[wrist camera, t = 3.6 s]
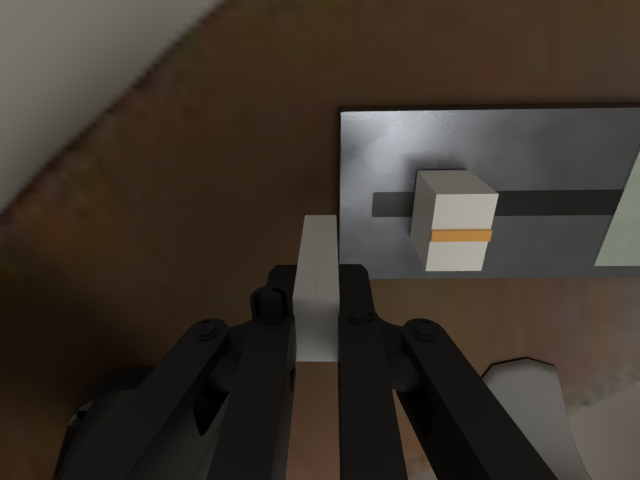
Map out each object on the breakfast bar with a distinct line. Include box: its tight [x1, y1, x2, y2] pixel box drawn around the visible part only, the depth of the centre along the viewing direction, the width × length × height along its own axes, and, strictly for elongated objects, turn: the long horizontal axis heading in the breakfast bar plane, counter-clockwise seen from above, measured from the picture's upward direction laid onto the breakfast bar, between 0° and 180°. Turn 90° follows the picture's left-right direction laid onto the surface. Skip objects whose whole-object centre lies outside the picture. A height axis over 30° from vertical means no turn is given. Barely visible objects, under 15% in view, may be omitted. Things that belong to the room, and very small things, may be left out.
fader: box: [410, 170, 499, 271], centre depth 20 cm, size 3×4×4 cm
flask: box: [482, 359, 592, 480], centre depth 28 cm, size 7×7×10 cm
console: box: [338, 103, 640, 279], centre depth 22 cm, size 28×11×5 cm, turn 91°
